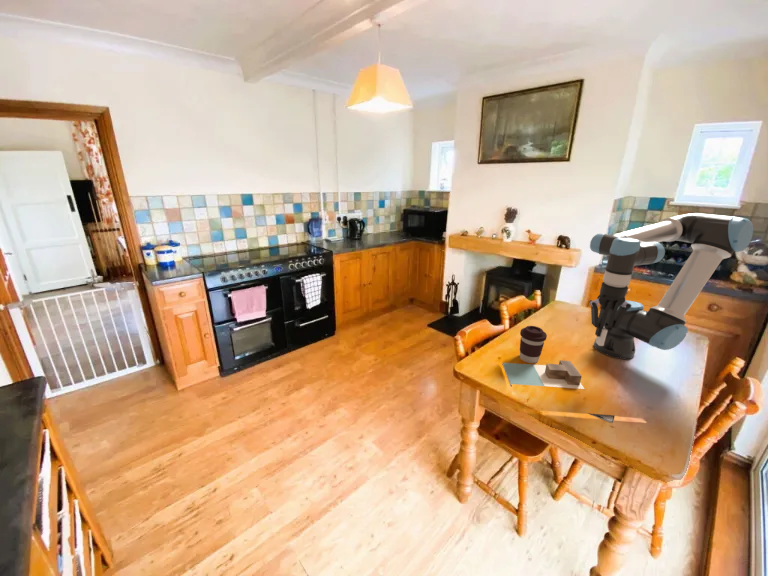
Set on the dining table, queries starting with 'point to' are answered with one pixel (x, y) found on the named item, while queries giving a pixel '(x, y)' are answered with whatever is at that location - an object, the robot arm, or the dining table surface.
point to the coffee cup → (531, 343)
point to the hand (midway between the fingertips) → (599, 343)
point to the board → (533, 376)
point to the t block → (563, 372)
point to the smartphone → (604, 417)
